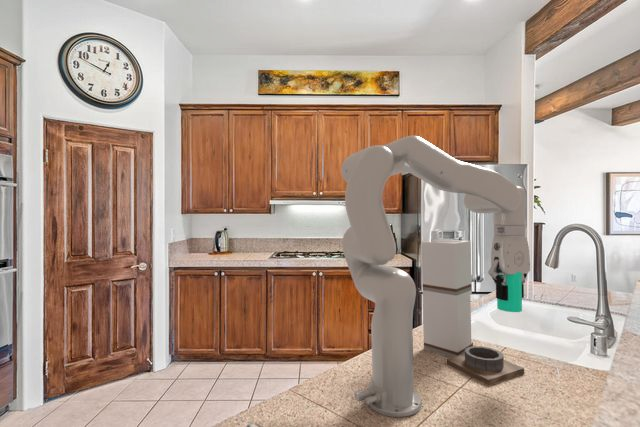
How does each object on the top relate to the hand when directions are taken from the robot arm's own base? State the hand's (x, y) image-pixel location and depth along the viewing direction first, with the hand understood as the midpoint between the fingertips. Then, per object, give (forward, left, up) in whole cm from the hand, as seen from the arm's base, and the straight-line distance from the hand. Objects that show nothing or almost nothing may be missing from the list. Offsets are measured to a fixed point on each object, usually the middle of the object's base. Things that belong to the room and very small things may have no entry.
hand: (509, 297), depth 92 cm
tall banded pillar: (-2, +21, -21) cm, 29 cm away
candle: (0, 0, -3) cm, 3 cm away
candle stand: (-4, +6, -21) cm, 22 cm away
